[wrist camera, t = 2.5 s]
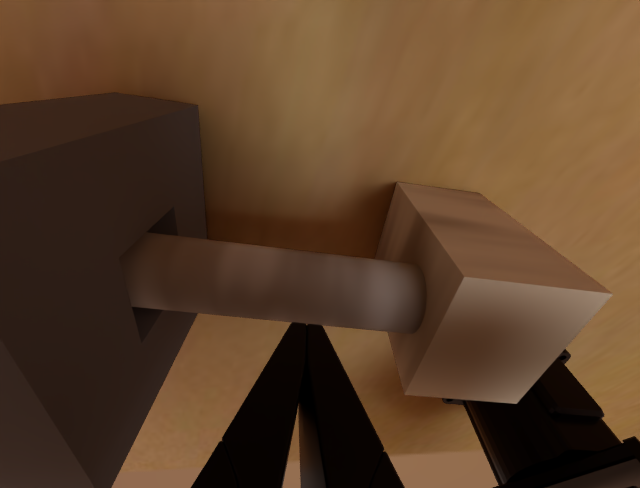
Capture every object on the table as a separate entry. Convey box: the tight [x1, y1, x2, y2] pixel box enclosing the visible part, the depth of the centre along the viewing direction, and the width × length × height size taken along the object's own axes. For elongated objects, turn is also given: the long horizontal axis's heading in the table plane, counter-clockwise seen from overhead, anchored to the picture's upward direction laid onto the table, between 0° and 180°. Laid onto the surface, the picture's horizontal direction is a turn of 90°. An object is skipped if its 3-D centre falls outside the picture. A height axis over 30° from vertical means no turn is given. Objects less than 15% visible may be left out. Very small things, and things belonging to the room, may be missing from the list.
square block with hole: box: [0, 93, 207, 488], centre depth 9 cm, size 9×3×9 cm, turn 172°
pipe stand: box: [119, 182, 613, 404], centre depth 12 cm, size 12×36×7 cm, turn 82°
